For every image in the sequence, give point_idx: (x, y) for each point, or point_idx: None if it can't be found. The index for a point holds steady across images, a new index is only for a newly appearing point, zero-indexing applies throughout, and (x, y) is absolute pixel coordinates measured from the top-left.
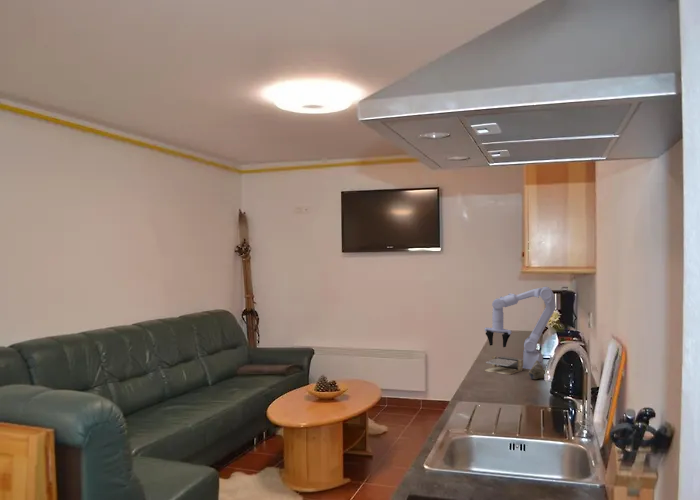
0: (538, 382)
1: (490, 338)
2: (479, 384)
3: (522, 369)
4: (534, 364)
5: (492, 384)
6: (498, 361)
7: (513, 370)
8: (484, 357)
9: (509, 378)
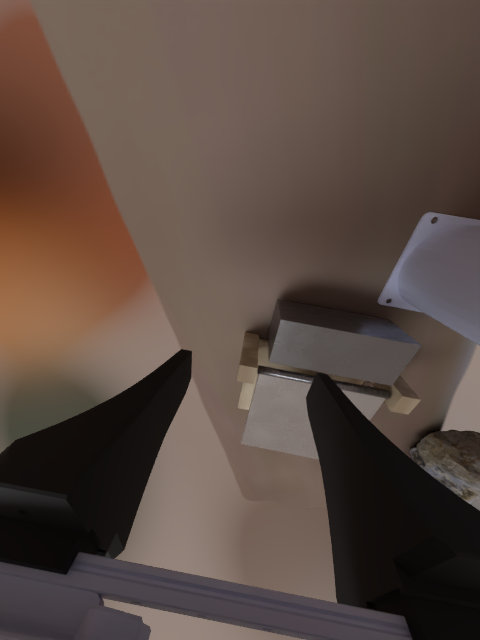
0: None
1: (158, 441)
2: (272, 498)
3: None
4: (467, 499)
5: (299, 495)
6: (289, 427)
7: (344, 381)
8: (78, 69)
9: None
